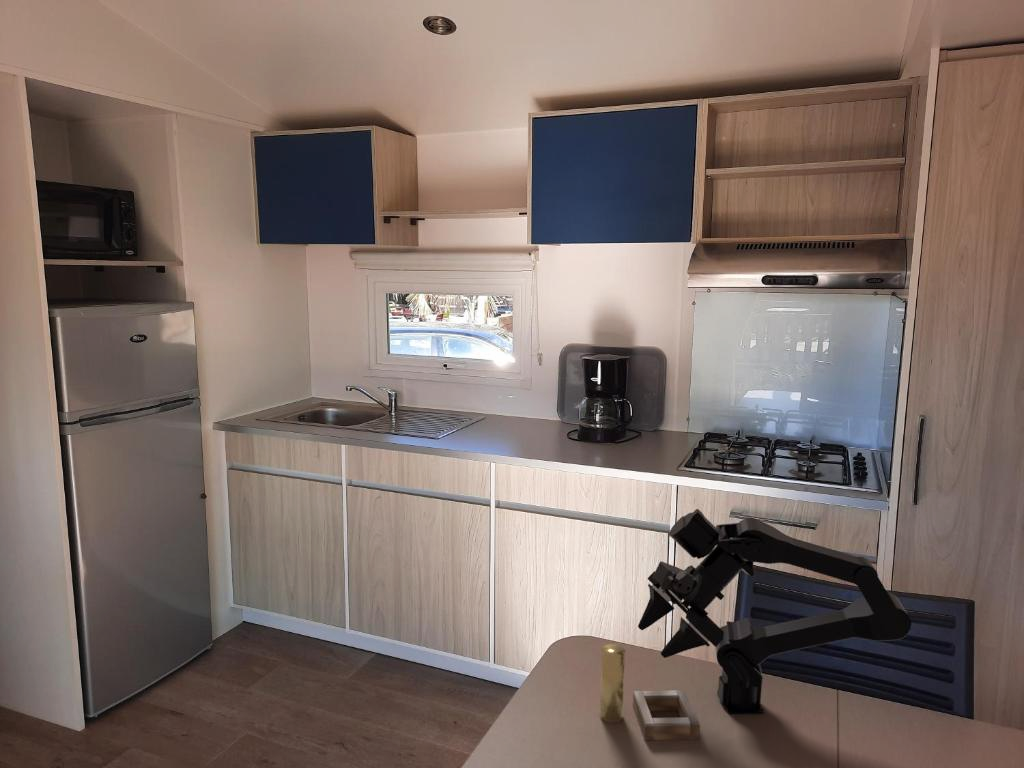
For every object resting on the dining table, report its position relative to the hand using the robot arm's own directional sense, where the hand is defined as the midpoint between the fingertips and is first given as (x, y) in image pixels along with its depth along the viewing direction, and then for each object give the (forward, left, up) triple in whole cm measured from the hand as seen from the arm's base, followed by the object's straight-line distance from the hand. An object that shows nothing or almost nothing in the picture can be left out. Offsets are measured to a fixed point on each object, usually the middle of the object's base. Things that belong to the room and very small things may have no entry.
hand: (650, 641), depth 127 cm
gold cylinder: (+7, +2, -13) cm, 15 cm away
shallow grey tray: (-2, +4, -13) cm, 14 cm away
